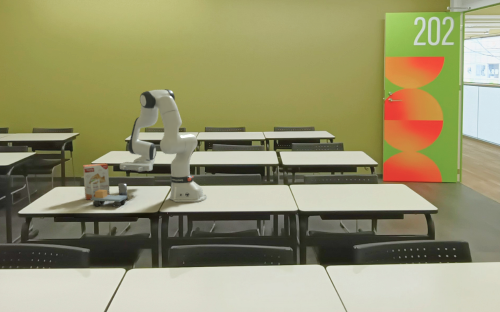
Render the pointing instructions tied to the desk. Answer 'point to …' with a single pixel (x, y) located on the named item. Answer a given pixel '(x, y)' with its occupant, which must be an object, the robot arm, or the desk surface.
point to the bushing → (123, 189)
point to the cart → (107, 197)
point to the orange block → (100, 193)
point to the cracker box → (95, 178)
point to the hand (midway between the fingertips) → (130, 169)
